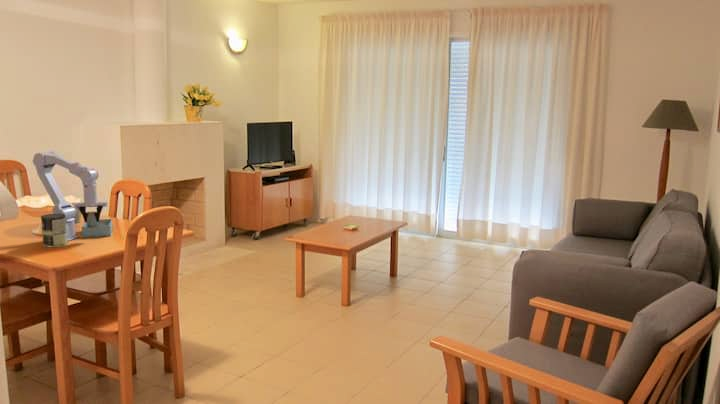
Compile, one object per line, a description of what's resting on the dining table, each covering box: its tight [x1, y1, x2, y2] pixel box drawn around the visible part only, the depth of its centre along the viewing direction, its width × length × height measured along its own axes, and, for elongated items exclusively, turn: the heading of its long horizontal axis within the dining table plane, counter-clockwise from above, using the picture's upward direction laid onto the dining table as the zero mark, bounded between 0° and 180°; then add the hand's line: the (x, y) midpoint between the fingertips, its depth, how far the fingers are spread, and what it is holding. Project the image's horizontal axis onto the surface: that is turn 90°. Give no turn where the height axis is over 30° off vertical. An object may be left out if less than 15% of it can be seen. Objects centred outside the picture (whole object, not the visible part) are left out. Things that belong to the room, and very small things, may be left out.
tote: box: [81, 218, 114, 239], centre depth 301 cm, size 17×13×6 cm
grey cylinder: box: [86, 211, 98, 228], centre depth 283 cm, size 5×5×7 cm
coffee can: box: [40, 213, 68, 248], centre depth 275 cm, size 10×10×14 cm
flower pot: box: [74, 207, 82, 224], centre depth 325 cm, size 9×9×9 cm
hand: (91, 221), depth 283 cm, fingers closed on grey cylinder, 5 cm apart
